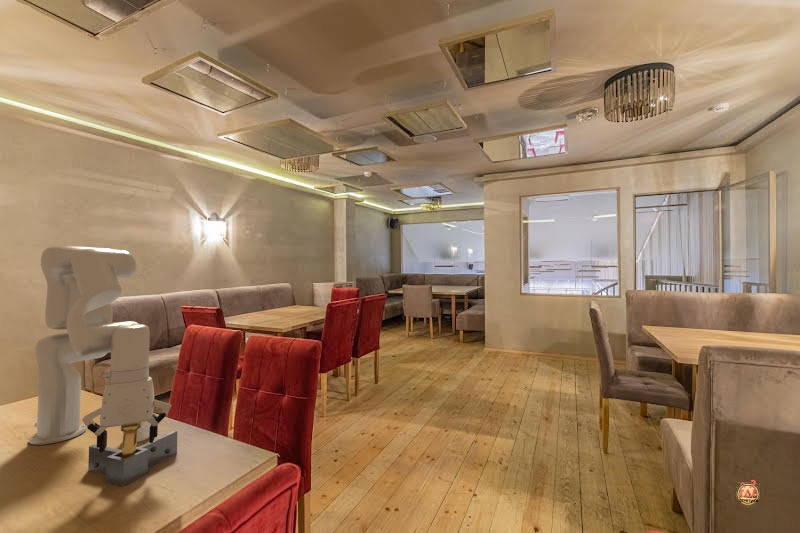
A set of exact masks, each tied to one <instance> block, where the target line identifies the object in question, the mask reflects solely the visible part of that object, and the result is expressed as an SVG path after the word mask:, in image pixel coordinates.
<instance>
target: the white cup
mask: <svg viewBox="0 0 800 533" xmlns="http://www.w3.org/2000/svg"><path fill="white" fill-rule="evenodd" d="M150 426H151V424H150V423H149V422H148V421H144V422H141V427H140V428H139V429H138V434H137V443H139V442H142V441H145V440H148V439H149V431H150ZM123 433H124V431H122V434H123Z"/></svg>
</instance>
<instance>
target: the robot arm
mask: <svg viewBox="0 0 800 533" xmlns="http://www.w3.org/2000/svg"><path fill="white" fill-rule="evenodd" d="M40 265H41V266H40V267H41V270H42V274H43V276H44V278H45V281H46V287H47V288H46V299H45V301H46V302H45V310H44V311H45V314H44V320H45V325H46V327H47V328H49V329H50V330H57V331H59V330H60V331H62V330H63V331H65V330H66V331H67V332H62V333H61V332H60V333H54V334H50V335H46V336H43V337H42V338H40V339H39V340H38V341H37V342H36V344H35V348H34V350H35V351H34V352H35V358H36V363H37V370H38V386H37V387H38V388H37V389H38V390H37V417H36V418H37V419H36V423H35V424H34V425H33V426H34V428H36V433H34V434H32V435H31V436H30V437H29V439H28V442H29V444H30V445H34V446H35V445H37V446H41V445H49V444H54V443H60V442H65V441H66V440H71V439H72V438H75V437H78V436H80V435H81V434H83V433H85V431H87V430H88V431H90V432H91V433H93V434H94V436H96V445H97V448H99V452H103V451H104V450H105V448H106V447H108V431H107V429H108V428H113V427H121V425H127V424H134V423H140V422H144V421H148V422H149V423H150V424H151V426H150V431H149V438H148V442H149V443H153V441H154V440H155V439H157V438H158V433H159V432H158V430H159V424H160V423H161V421H163V420H164V419H165V417H166V415H168V414H169V411H170V409H171V407H172V404H171V403H169V402H168V403H167V402H164V401H162V400H158V399H156V398H155V389H154V383H153V382H154V381H153V378H152V377H151V376H149V375H150V374H149V373H150V369H149V368H150V334H151V333H150V332H151V331H150V328H149V326H148V325H146V324H143V323H142V324H140V323H139V322H137V321H133V320H131V321H129V320H128V321H118V322H113V320H114V319H113V318H114V317H113V316H114V314H113V313H114V312H113V311H114V310H113V306H112V304H111V303H113V302H116V300H118V299H119V298H120V296H121V294H122V288H121V285H120V282H119V280H118V279H127V278H130V277H132V276H133V275H134V274H135V272H136V269H137V262H136V259H135V257H134V255H133V254H132V253H131V252H130V251H127V250H122V249H115V248H107V247H91V246H90V247H89V246H77V245H56V246H55V245H53V246H49V247H47V248H45V249H44V250H43V251H42V253H41V257H40ZM108 353H110V370H109V371H107V372H103V373H102V379H105V380H106V379H107V380H108V381H109V382H107V383H106V384H105V386H104V390H103V394H102V399H101V406H100V408H98V409H96V410H94V411H92V412H91V413H90V412H89V414H87V415H85V416H83V418H82V419H81V400H82V399H81V396H82V394H81V393H82V375H81V373H80V372H79V370H77V369H76V368H75V367H74V366H72V364H74V363H77V362H84V361H89V360H95V359H100V358H103V357H105V356H106V355H107V354H108ZM155 407H156V408H158V409H162V411H161V412H160V413H159V414H158V416H157V415H156V414H155ZM98 416H100V417H99V418H100V419H99V423H100V424H99V423H97V422H96V421H94V419H95V418H96V417H98ZM81 420H82V422H83V423H80V422H81Z"/></svg>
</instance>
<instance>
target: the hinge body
mask: <svg viewBox="0 0 800 533" xmlns="http://www.w3.org/2000/svg"><path fill="white" fill-rule="evenodd" d="M177 453H178V430H172V431H171V432H168V433H166V434H164V435H162V436H159V437H156V438H154V441H153V443H149V441H148V442H147V443H144V444H142V445H139V446H136V453H135V454H133V455H131V456H129V457H127V458H121V456H122V449H118V448H113V447H109V446H107V447H106V448H105V450H104V451H103V452H99V448H97V444H95V443H94V444H93V445H89V446H88V468H87V469H88V471H89V472H94V473H98V474H101V475H105V483H107V484H111V485H114V486H119V487H125V486H127V485H129V484H132V483H133V482H134V481H136V480H139V479H140V478H143V476H146V475H148V474H149V472H148V471H149V468H151V467H153V466H155V465H156V464H159V463H161V462H162V461H164V460H166V459H168V458H170V457H172V456H174V455H176V454H177Z"/></svg>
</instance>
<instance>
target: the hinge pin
mask: <svg viewBox="0 0 800 533" xmlns="http://www.w3.org/2000/svg"><path fill="white" fill-rule="evenodd" d="M140 427H141V422H140V423H134V424H127V425H121V426H120V431H121V432H122V446H121V450H122V456H121V458H127V457H129V456H131V455H133V454H135V453H136V447H138V446H137V445H138V442H137V434H138V429H139V428H140ZM123 431H124V433H123Z"/></svg>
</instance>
